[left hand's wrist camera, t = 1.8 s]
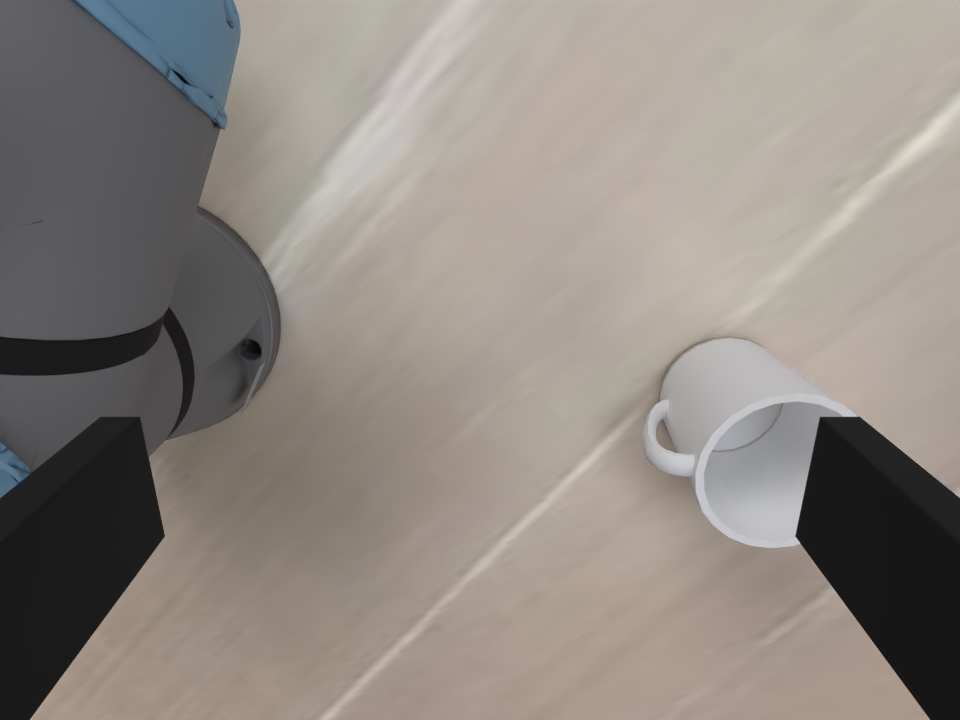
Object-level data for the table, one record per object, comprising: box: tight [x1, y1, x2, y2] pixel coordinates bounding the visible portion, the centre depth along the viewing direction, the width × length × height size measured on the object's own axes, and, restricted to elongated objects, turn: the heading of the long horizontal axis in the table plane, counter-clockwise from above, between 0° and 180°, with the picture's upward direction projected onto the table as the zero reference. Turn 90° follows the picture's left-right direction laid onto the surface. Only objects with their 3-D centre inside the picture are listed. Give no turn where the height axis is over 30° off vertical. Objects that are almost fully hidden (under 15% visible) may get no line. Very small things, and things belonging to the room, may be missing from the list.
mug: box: [643, 337, 857, 548], centre depth 38 cm, size 11×9×10 cm
